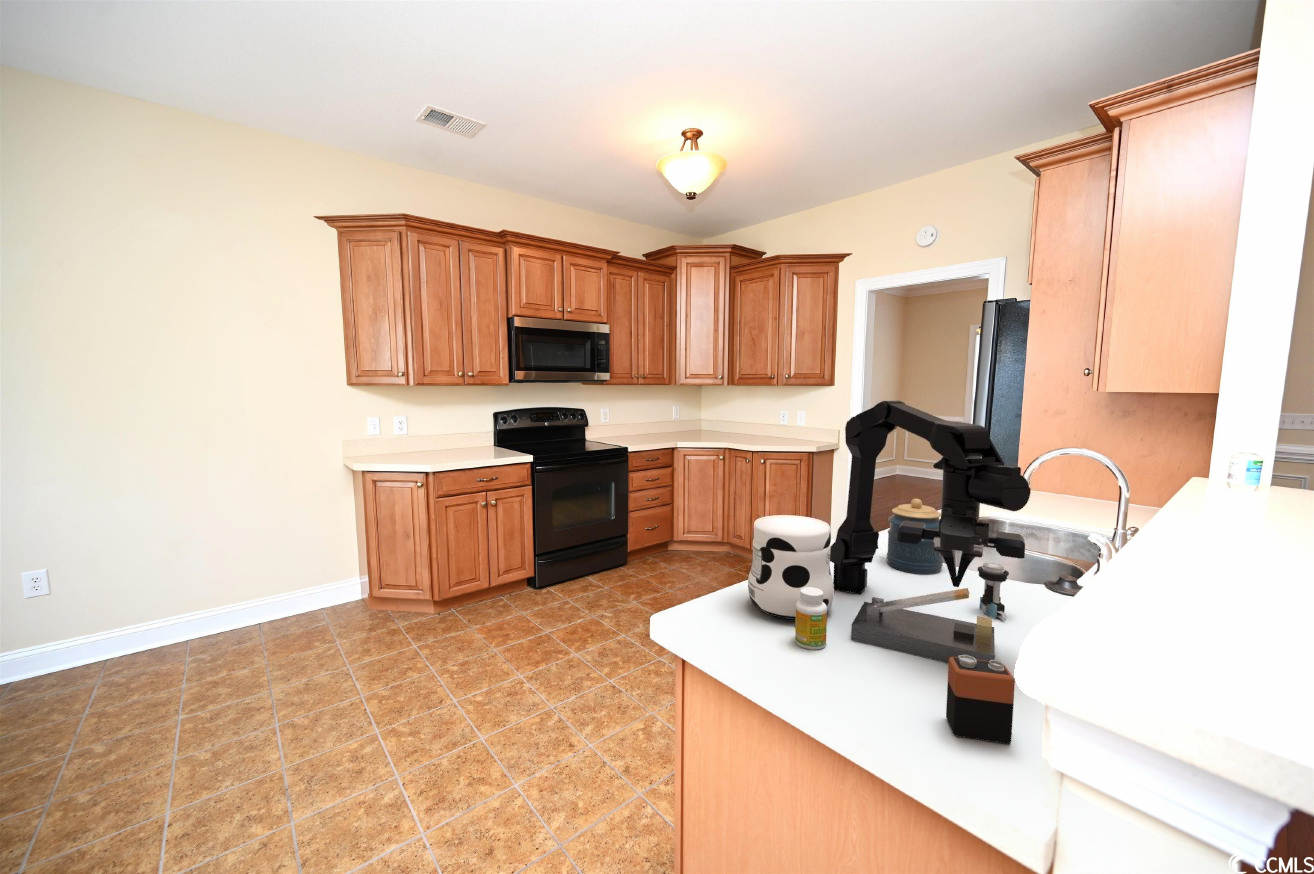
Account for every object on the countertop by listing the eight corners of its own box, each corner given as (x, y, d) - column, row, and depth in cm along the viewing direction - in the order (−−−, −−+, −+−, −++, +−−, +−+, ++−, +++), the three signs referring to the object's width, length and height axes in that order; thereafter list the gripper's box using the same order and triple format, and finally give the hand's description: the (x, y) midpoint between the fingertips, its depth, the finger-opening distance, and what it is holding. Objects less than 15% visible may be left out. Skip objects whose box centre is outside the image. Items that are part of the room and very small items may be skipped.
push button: (1017, 622, 104) (1020, 572, 103) (990, 622, 104) (992, 572, 103) (995, 607, 111) (997, 561, 110) (969, 608, 111) (972, 561, 110)
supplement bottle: (809, 653, 92) (811, 599, 91) (788, 640, 97) (789, 588, 96) (832, 646, 95) (834, 593, 94) (811, 633, 99) (812, 583, 99)
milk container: (847, 606, 112) (849, 522, 110) (809, 635, 99) (811, 540, 97) (773, 586, 123) (775, 510, 122) (731, 609, 110) (732, 524, 109)
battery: (945, 717, 74) (948, 649, 73) (1000, 725, 72) (1004, 655, 71) (953, 737, 70) (957, 664, 69) (1012, 746, 68) (1016, 672, 67)
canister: (886, 555, 145) (888, 492, 143) (940, 561, 140) (943, 495, 138) (886, 570, 133) (889, 501, 132) (945, 578, 128) (948, 506, 126)
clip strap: (871, 614, 99) (869, 608, 99) (874, 608, 102) (872, 602, 102) (969, 599, 90) (966, 592, 90) (969, 593, 93) (967, 586, 93)
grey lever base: (851, 640, 97) (852, 608, 96) (864, 615, 107) (865, 587, 107) (993, 673, 85) (995, 637, 85) (993, 643, 96) (995, 610, 95)
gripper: (894, 500, 89) (890, 590, 91) (1030, 514, 79) (1023, 615, 81) (903, 489, 99) (900, 571, 100) (1025, 500, 89) (1019, 591, 90)
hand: (956, 586), depth 93 cm, fingers closed
